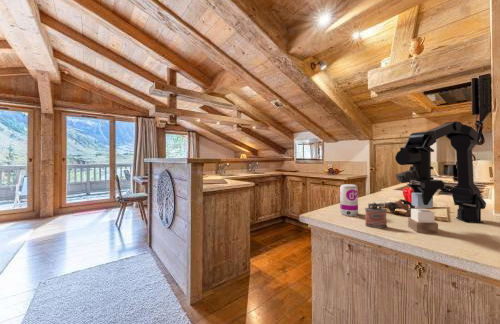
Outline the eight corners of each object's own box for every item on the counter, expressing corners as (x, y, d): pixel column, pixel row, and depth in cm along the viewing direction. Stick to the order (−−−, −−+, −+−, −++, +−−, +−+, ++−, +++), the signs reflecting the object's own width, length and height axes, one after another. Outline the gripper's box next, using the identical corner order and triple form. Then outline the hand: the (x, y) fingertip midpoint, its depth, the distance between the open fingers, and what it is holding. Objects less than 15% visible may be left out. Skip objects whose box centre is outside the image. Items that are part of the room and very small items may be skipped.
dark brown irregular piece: (401, 211, 116) (410, 199, 112) (411, 224, 108) (421, 211, 104) (379, 206, 115) (388, 194, 111) (388, 219, 107) (398, 206, 103)
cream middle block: (426, 218, 89) (426, 208, 89) (434, 222, 84) (434, 212, 84) (410, 218, 90) (410, 208, 90) (418, 222, 85) (418, 212, 85)
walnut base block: (427, 228, 90) (427, 218, 90) (438, 234, 83) (438, 223, 83) (408, 227, 91) (408, 217, 91) (416, 233, 85) (416, 222, 85)
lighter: (365, 226, 93) (365, 203, 93) (364, 224, 96) (364, 201, 96) (387, 228, 90) (387, 204, 90) (385, 225, 93) (385, 202, 93)
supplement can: (361, 216, 108) (360, 186, 108) (344, 216, 108) (343, 186, 108) (353, 212, 116) (353, 183, 116) (337, 212, 116) (337, 184, 116)
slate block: (425, 204, 89) (425, 192, 89) (432, 207, 84) (432, 194, 84) (411, 204, 90) (411, 192, 90) (417, 207, 85) (417, 194, 85)
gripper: (389, 163, 98) (390, 198, 98) (409, 165, 79) (410, 208, 80) (418, 162, 95) (418, 198, 95) (445, 165, 77) (446, 209, 77)
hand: (421, 203), depth 87 cm, fingers closed on slate block, 5 cm apart
